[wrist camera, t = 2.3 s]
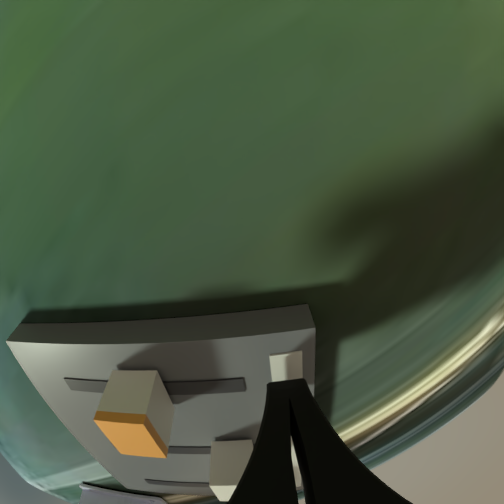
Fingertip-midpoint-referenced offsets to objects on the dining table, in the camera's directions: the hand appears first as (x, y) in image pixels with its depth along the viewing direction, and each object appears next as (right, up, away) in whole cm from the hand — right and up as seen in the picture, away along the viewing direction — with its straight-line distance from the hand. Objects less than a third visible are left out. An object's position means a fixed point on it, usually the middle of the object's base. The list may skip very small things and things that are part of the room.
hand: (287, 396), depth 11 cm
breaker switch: (-6, 0, +1) cm, 6 cm away
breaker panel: (-5, -5, +5) cm, 8 cm away
